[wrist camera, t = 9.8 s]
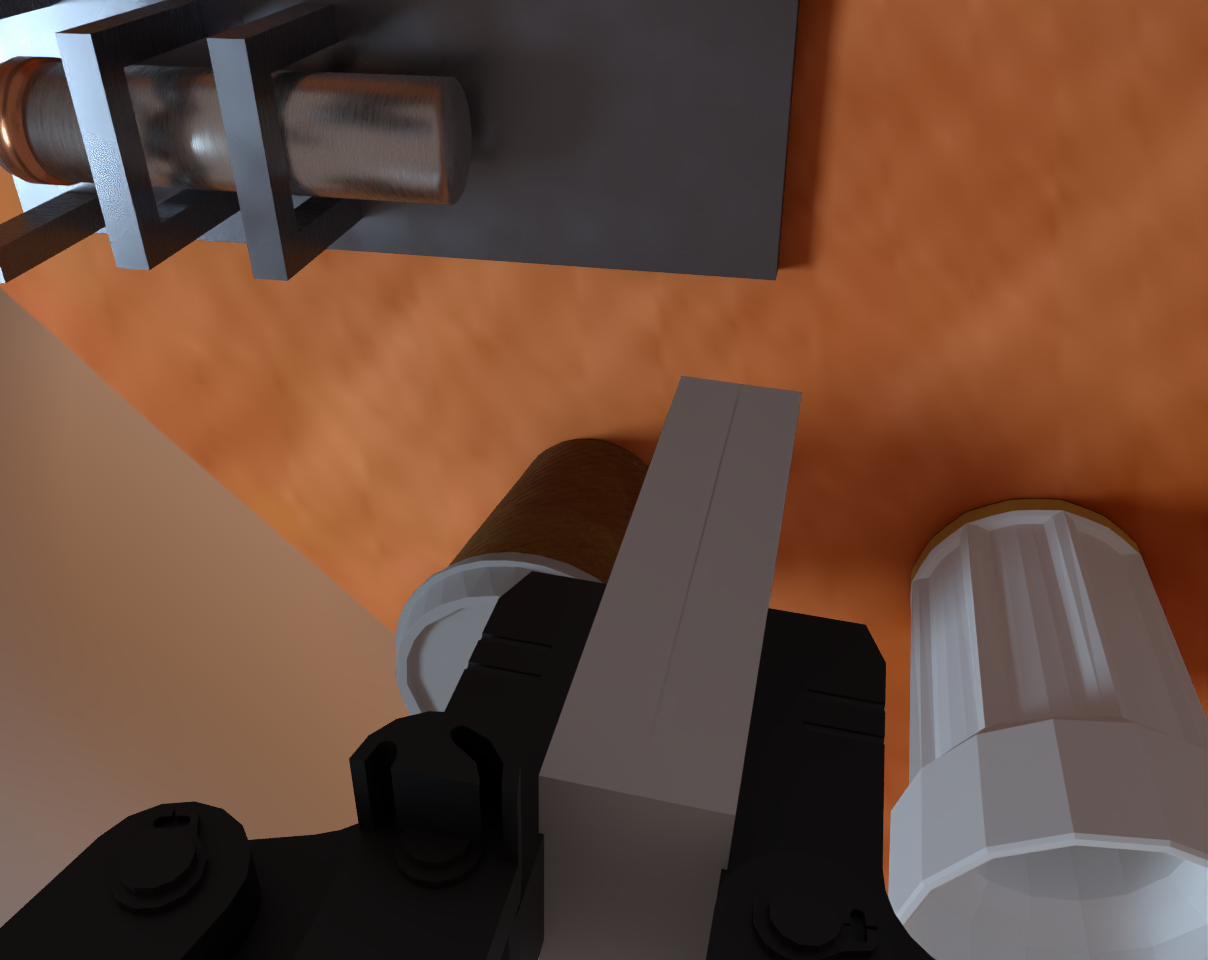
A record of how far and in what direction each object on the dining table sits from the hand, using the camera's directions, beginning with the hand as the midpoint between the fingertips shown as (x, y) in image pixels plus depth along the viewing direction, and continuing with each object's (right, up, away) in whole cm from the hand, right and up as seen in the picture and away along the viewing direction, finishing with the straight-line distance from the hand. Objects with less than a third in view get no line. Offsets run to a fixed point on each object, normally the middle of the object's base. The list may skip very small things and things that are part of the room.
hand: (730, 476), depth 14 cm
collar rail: (-10, +13, +25) cm, 30 cm away
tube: (-14, +13, +25) cm, 31 cm away
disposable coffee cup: (-2, -1, +32) cm, 32 cm away
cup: (+16, -4, +30) cm, 34 cm away
